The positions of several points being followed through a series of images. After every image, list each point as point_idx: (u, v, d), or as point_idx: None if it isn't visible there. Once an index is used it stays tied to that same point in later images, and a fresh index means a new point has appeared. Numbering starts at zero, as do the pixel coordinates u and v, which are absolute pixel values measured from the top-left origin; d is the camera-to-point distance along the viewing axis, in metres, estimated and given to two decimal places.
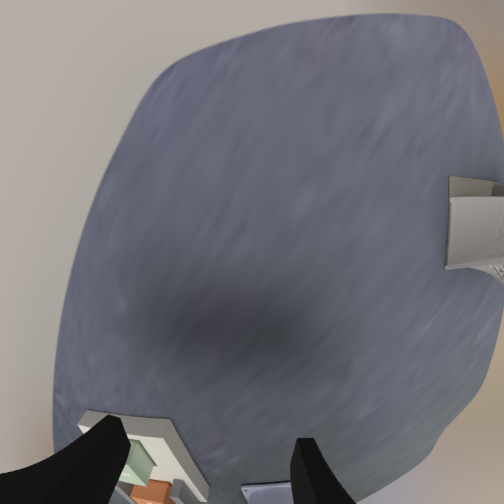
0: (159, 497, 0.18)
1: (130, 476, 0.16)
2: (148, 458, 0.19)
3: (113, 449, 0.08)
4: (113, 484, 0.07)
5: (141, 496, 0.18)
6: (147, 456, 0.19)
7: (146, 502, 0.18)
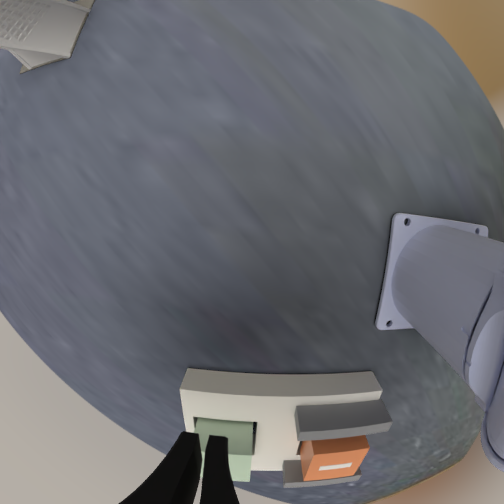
0: (311, 451, 0.15)
1: None
2: (234, 424, 0.17)
3: (194, 468, 0.08)
4: None
5: (306, 469, 0.15)
6: (229, 423, 0.17)
7: (319, 470, 0.14)
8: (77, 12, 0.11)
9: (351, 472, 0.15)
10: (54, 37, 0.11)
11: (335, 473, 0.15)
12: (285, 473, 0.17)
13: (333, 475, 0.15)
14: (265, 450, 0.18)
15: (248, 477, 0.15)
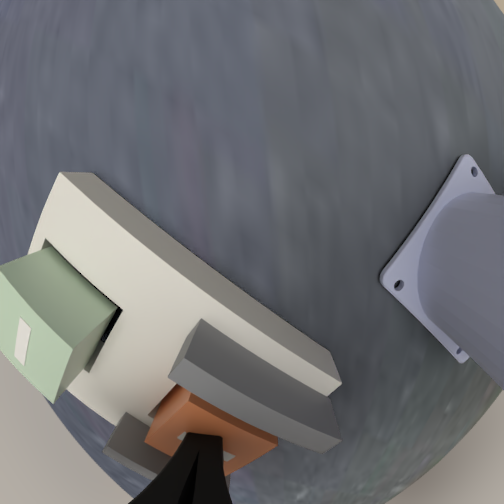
0: (185, 395, 0.09)
1: (31, 329, 0.07)
2: (88, 290, 0.09)
3: None
4: None
5: (159, 424, 0.09)
6: (82, 284, 0.09)
7: (178, 438, 0.09)
8: None
9: None
10: None
11: None
12: (116, 432, 0.09)
13: None
14: (108, 375, 0.10)
15: (53, 394, 0.07)
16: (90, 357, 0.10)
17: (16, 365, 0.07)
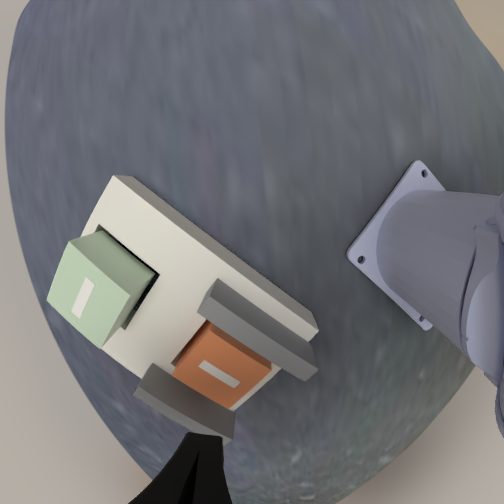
0: (206, 330, 0.14)
1: (94, 285, 0.11)
2: (134, 261, 0.14)
3: None
4: None
5: (185, 357, 0.14)
6: (129, 256, 0.14)
7: (199, 367, 0.14)
8: None
9: (229, 402, 0.14)
10: None
11: (212, 387, 0.14)
12: (145, 376, 0.14)
13: (208, 391, 0.14)
14: (141, 330, 0.15)
15: (103, 339, 0.12)
16: None
17: (70, 320, 0.12)
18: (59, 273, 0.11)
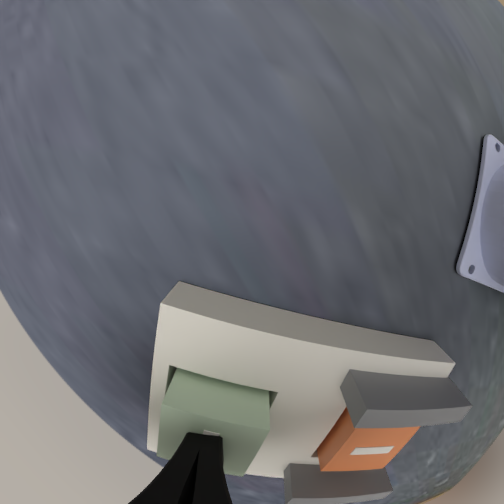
0: (349, 421, 0.10)
1: (218, 434, 0.09)
2: None
3: None
4: None
5: (332, 452, 0.10)
6: None
7: (350, 454, 0.10)
8: None
9: (383, 464, 0.10)
10: None
11: (365, 462, 0.10)
12: (292, 483, 0.10)
13: (361, 466, 0.10)
14: (269, 444, 0.11)
15: (244, 469, 0.09)
16: None
17: None
18: (164, 433, 0.09)
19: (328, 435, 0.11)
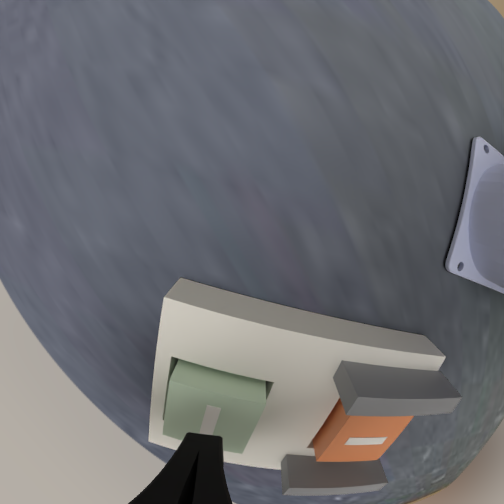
0: (343, 412, 0.11)
1: (220, 409, 0.10)
2: None
3: None
4: None
5: (327, 442, 0.11)
6: None
7: (345, 444, 0.11)
8: None
9: (377, 455, 0.11)
10: None
11: (360, 452, 0.11)
12: (289, 473, 0.11)
13: (355, 457, 0.11)
14: (267, 435, 0.12)
15: (243, 446, 0.11)
16: None
17: None
18: (170, 410, 0.10)
19: (323, 426, 0.12)
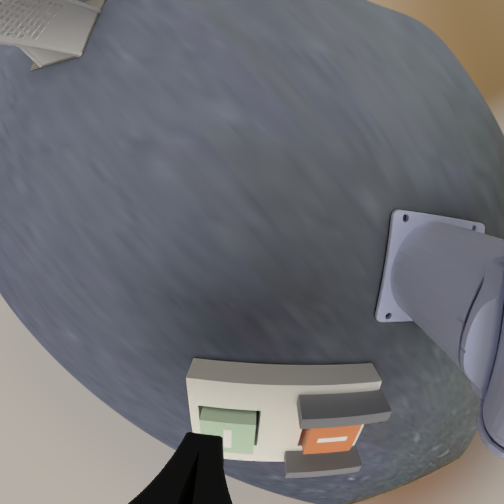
0: None
1: (231, 430, 0.17)
2: None
3: None
4: None
5: (305, 442, 0.17)
6: None
7: (317, 442, 0.17)
8: (88, 12, 0.12)
9: (347, 447, 0.17)
10: (66, 36, 0.12)
11: (332, 446, 0.17)
12: (287, 463, 0.17)
13: (330, 449, 0.17)
14: (267, 440, 0.19)
15: (252, 449, 0.17)
16: None
17: (225, 450, 0.17)
18: None
19: (304, 431, 0.19)
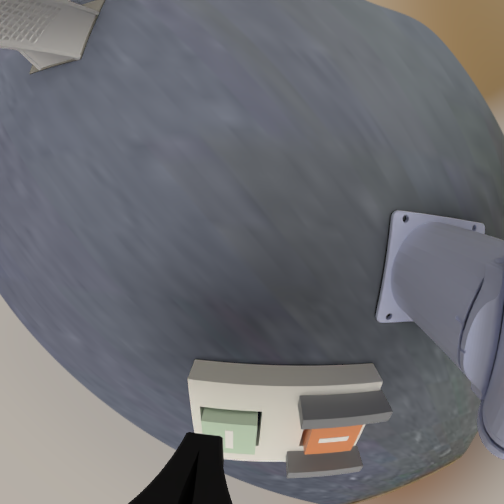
0: None
1: (233, 431, 0.17)
2: None
3: None
4: None
5: (307, 442, 0.17)
6: None
7: (318, 443, 0.17)
8: (87, 15, 0.12)
9: (348, 447, 0.17)
10: (65, 39, 0.12)
11: (333, 447, 0.17)
12: (288, 463, 0.17)
13: (332, 449, 0.17)
14: (269, 440, 0.19)
15: (253, 449, 0.17)
16: None
17: (227, 451, 0.18)
18: None
19: (305, 431, 0.19)
